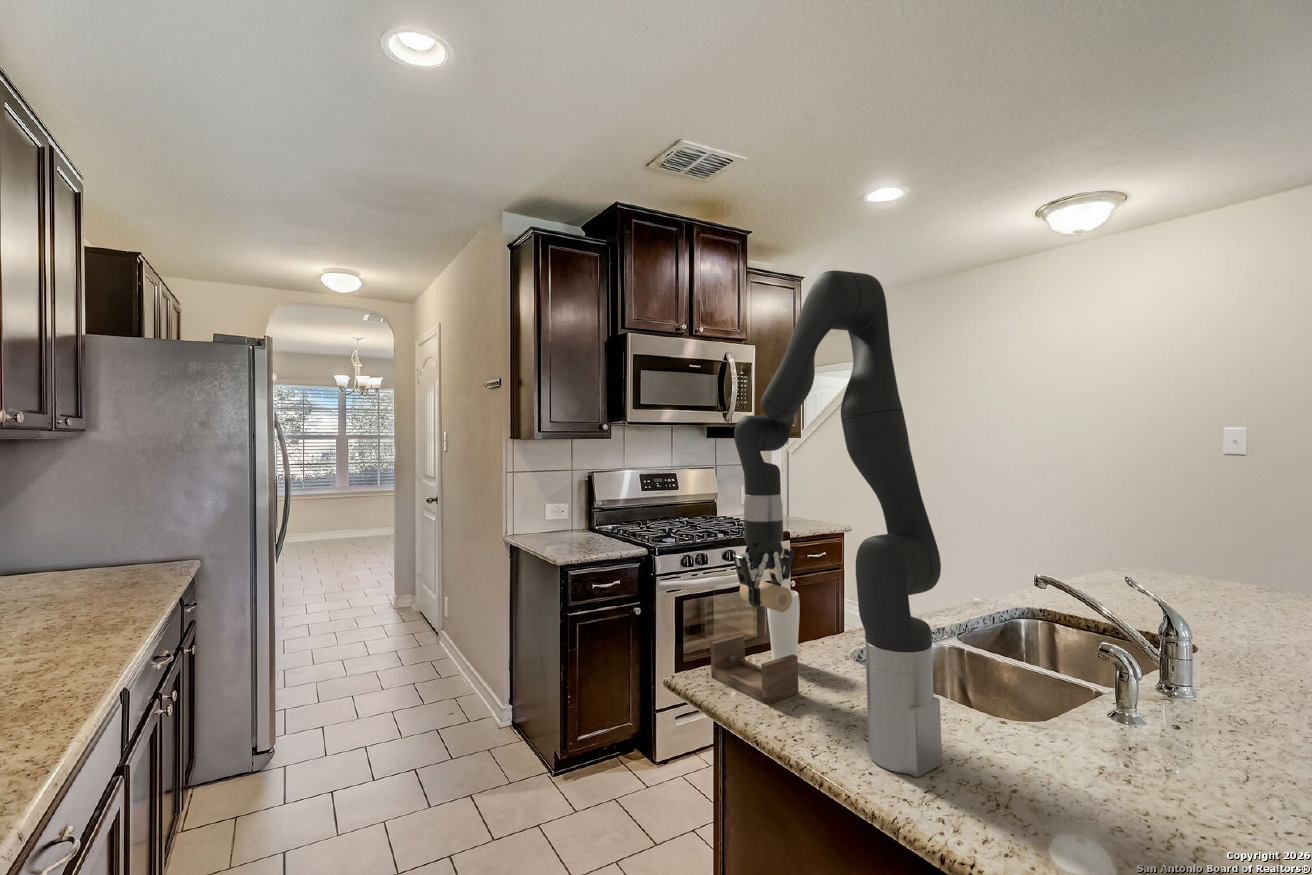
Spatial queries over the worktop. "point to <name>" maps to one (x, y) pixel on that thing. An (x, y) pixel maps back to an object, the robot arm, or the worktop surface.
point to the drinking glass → (784, 629)
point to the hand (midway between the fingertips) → (765, 603)
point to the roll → (770, 596)
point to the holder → (753, 671)
